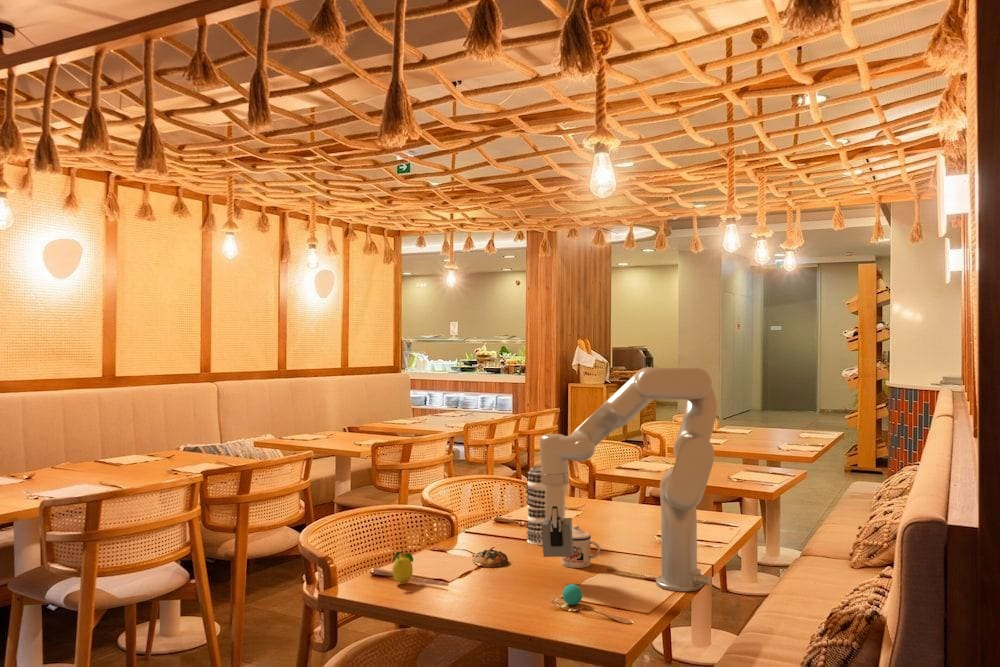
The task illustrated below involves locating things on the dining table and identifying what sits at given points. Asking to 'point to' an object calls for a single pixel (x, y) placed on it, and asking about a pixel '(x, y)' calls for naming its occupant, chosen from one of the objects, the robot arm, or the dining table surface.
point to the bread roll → (491, 558)
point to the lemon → (402, 567)
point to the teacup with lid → (580, 549)
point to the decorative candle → (535, 506)
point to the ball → (572, 594)
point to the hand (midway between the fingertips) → (558, 541)
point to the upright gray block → (566, 536)
